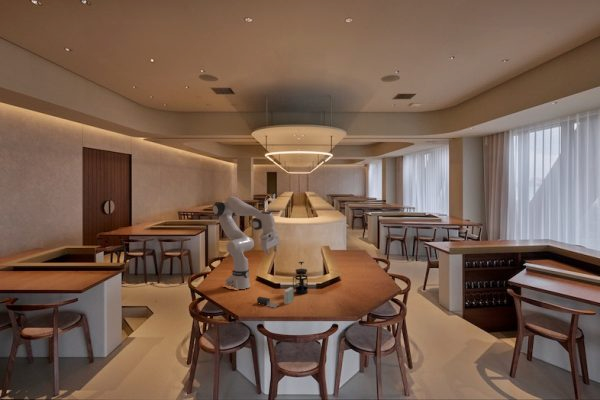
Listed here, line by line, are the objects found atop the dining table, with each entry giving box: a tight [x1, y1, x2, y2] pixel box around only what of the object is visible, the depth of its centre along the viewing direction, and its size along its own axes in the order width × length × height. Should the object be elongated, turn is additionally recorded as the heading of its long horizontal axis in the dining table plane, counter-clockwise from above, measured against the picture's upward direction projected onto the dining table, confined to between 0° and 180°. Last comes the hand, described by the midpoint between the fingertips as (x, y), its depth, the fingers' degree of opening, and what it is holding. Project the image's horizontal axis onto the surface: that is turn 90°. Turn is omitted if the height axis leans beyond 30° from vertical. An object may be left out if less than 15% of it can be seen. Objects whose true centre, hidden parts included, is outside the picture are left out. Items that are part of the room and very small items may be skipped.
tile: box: [283, 286, 294, 306], centre depth 213 cm, size 3×9×9 cm, turn 153°
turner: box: [256, 296, 280, 309], centre depth 208 cm, size 15×6×4 cm, turn 64°
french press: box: [292, 261, 309, 295], centre depth 232 cm, size 12×9×23 cm
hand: (272, 253), depth 222 cm, fingers open, 8 cm apart
